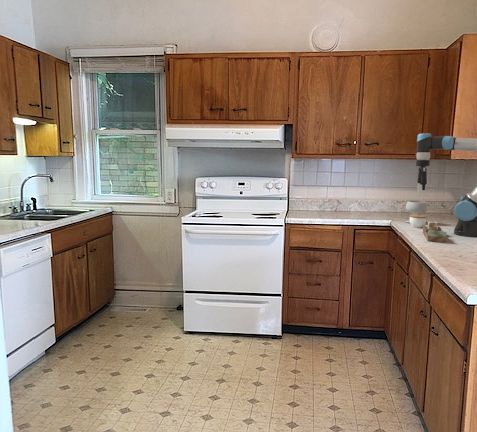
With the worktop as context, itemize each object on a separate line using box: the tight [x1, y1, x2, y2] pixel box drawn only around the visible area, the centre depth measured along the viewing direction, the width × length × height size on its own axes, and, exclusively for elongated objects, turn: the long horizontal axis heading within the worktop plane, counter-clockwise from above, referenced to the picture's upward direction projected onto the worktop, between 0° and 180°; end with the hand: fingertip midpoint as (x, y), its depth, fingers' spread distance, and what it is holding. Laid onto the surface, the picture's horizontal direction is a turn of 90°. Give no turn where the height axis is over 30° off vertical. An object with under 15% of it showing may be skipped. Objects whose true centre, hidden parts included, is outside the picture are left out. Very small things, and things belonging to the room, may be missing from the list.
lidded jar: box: [409, 213, 428, 229], centre depth 279 cm, size 11×11×9 cm
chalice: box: [405, 200, 428, 224], centre depth 296 cm, size 14×14×15 cm
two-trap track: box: [422, 224, 447, 243], centre depth 246 cm, size 9×27×6 cm, turn 162°
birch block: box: [427, 220, 438, 231], centre depth 254 cm, size 4×4×4 cm
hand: (421, 194), depth 257 cm, fingers open, 13 cm apart
